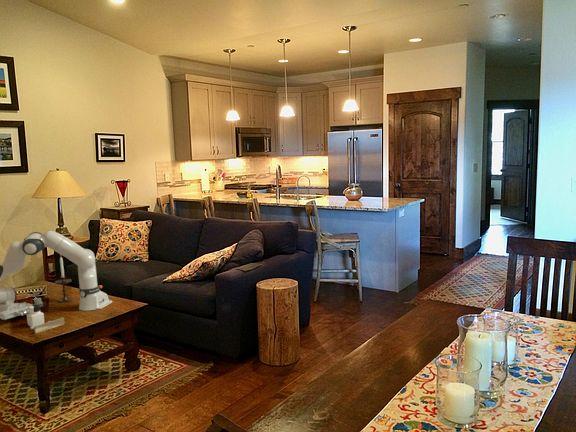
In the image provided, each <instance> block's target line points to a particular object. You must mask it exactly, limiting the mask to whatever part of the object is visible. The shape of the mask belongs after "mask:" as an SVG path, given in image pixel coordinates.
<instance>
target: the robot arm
mask: <svg viewBox="0 0 576 432" xmlns="http://www.w3.org/2000/svg"><path fill="white" fill-rule="evenodd" d="M45 248H48V249H50V250H52V251H54V252H56V253H58V254H59V255H60V254H61V256H63V257H64V258H66V259H67V260H69V261H70V262H72V263H73V264H75V265H76V266H77V273H78V282H79V283H78V285H79V289H78V292H79V304H78V310H79V311H82V312H83V311H87V312H88V311H94V310H101V309H103V308H104V307H106V306H108V305H110V304H112V303H113V300H111V299H109V296H108V294H107V293H106V292H104V291H101V289H102V288H103V285H98V277H97V266H96V256H95V253H94V251H92V250H91V249H89V248H84V247H82V246H80V245H79V244H78V243H77V242H75V241H73V240H71V239H70V238H68V237H67V236H64V235H63V234H61V233H59V232H57V231H54V230H45V232H43V233H41V232H39V231H34V232H31V233H30V234H28V235H27V236H26V237H25V238H24V239H23V241H17V240H16V241H13V242H11V243H10V245H9V246H8V249H7V250H6V254H5V257H4V260H3V262H2V263H1V264H0V283H1V282H2V280H3V279H4V278H5V277H7V276H9V275H11V274H14V273H17V272H19V271H20V270H22V268H23V267H24V264H25V260H26V256H34V255H37V254H38V253H40V252H42V250H44V249H45ZM17 298H18V294H17V290H15V289H14V287H12V286H8V287H0V319H1V320H4V321H6V320H9V319H13V318H16V317H18V316H21V317H22V316H25V315H26V316H27V314H29V307H30V306H32V305H34V303H33V304H32V303H28V302H26V301H22V302H15V303H14V301H15V300H16V301H17V300H18V299H17Z"/></svg>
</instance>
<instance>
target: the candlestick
mask: <svg viewBox="0 0 576 432" xmlns="http://www.w3.org/2000/svg"><path fill="white" fill-rule="evenodd" d="M59 256H60V258H59V265H60V275H61V276H60V277H59V278H60V279H57V280H54V284H55V285H62V289H61V292H62V295H63V297H61V298H59V299H57V302H58V303H60V304H61V303H68V302H72V301H73V298H72V297H71V296H70V297H67V296H66V295H67V293H66V291H67V289H66V286H65V285H66V284H69V283H71V282H72V279H71V278H66V276H65V269H64V260H63V257H62V255H61V254H59Z"/></svg>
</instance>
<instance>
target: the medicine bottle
mask: <svg viewBox="0 0 576 432" xmlns="http://www.w3.org/2000/svg"><path fill="white" fill-rule="evenodd" d="M26 322H27V326H29V327H35V326H38V325H41V324H44V323H45V314H44V312H42V311H41V307H40V306H39V305H34V304H33V305H32V306H30V307H29V313H27V314H26Z"/></svg>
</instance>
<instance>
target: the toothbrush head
mask: <svg viewBox="0 0 576 432" xmlns="http://www.w3.org/2000/svg"><path fill="white" fill-rule="evenodd" d="M34 297H35V298H34V299H33V300H34V302H33V305H39V306H40V308H42V307H44V302H43V300H42V298H41V297H36V296H34Z"/></svg>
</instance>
